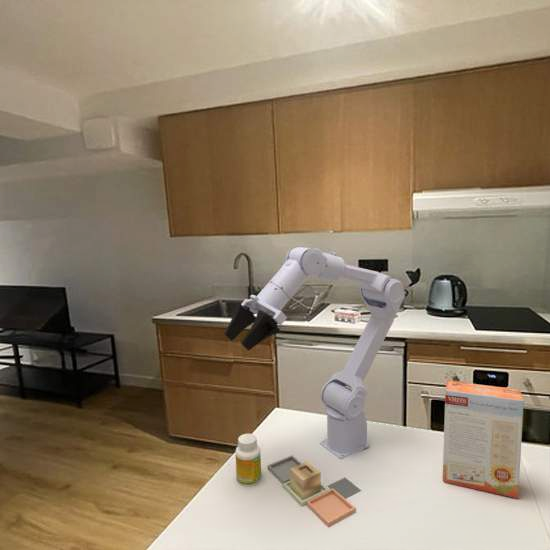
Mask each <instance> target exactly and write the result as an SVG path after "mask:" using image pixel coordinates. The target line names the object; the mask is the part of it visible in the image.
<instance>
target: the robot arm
mask: <svg viewBox="0 0 550 550" xmlns="http://www.w3.org/2000/svg"><path fill="white" fill-rule="evenodd" d="M309 277H314V278H318V279H322V280H327V281H332V282H337V281H339V280H341V279H342V278H343V279H346V280H350V281H353V282H357V285H356V287H357V288H358V289H359V294H360V296H361V299H362V300H363V302H364V304H365V306H366V308H367V310H368V311H369V312H370V317H369V320H368V321H367V323H366V324H365V325H366V326H365V327H364V329H363V331H362V333H361V335H360V336H359V338H358V341H356V344H355V346H354V348H353V351H352V353H350V356H349V357H348V360H347V362H346V364H345V365H344V368H343V370H340V371H338V372H335V373H333V374H331V378H330V379H329V380H328V381H327V382H326V383H325V384H324V385H323V387H322V389H321V391H320V400H321V403H322V404H324V405H325V410H326V413H327V414H326V415H327V416H326V424H327V425H326V428H327V432H326V434H327V435H326V436H327V437H326V439H324V440H321V441H320V442H319V444H320V445H321V446H322V447H323V448H325V449H326V450H327V451H329V452H330V453H332V454H333V455H334V456H335V457H337V458H338V459H339V460H342V459H344V458H347V457H349V456H351V455H353V454H356V453H359V452H360V451H363V450H364V449H367V448H370V444H369V443H368V438H367V437H368V422H367V417H366V414H365V413H364V411H363V410H364V407H365V401H366V398H367V396H368V389H367V388H366V385H365V383H364V380H365V378H366V376H367V374H368V372H369V370H370V368H371V367H372V365H373V363H374V360H375V358H376V357H377V355H378V354H379V350H380V349H381V346H382V345H383V342H384V340H385V339H386V337H387V335H388V333H389V331H390V329H391V327H392V325H393V324H394V321H395V318H396V315H397V314H398V311H399V309H400V307H401V305H402V304H403V301H404V300H405V297H406V294H405V290H404V286H403V283H402V281H401V280H399V279H397V278H393V277H391V276H390V275H387V274H384V273H381V272H379V271H375V270H371V269H367V268H363V267H358V266H353V265H351V264H346V263H345V260H344V259H343V257H341V256H338V253H336V252H331V251H330V252H329V253H327V252H323V251H322V250H321V249H320V248H315V247H314V248H313V247H305V246H304V247H301V246H297V247H294V248H292V249H289V250H288V251H287V253H286V256H285V261H284V263H283V264H282V266H281V268H279V270H278V271H277V272H276V273H275V274H274V276H273V277H272V278H271V279H270V280H269V281H268V282H267V284H266V285H265V286H264V287H263V288H262V290H260V292H259V293H258V294H257V295H255V294H251V295H250V296H249V299H248V298H245V299H244V301H243V302H242V303H239V302H237V303H236V304H235V306H234V311H233V315H232V317H231V320H230V322H229V324H228V325H227V327H226V329H225V331H224V336H225V337H226V338H227V339H228V340H230V342H231V341H233V340H235V339H236V338H237V337H238V336H239V335H240V334H241V333H242V332H243V331H244V330H245V329H247V328H248V327H249V326H251V325H252V326H251V327H250V329H249V330H248V332H247V333H246V334H245V335H244V337H243V339H242V340H241V342H240V345H241V346H243V347H244V348H245V349H246V350H247V351H251V350H252V349H253V348H255V347H256V346H257V345H259V344H260V343H261V342H263V341H264V340H266V339H267V338H269V337H271V336H273V335H276V334H279V333H280V331H281V328H279V326H282V324H283V323H284V322H285V321H286V320H287V319H288V317H287V316H286V315H285V314H284V312H283V308H285V306H286V305H287V304H288V302H289V301H290V300H291V299H292V298H293V297H294V295H295V294H296V292H298V290H299V289H300V288H301V287H302V285H303V284H304V283H305V282H306V280H307V279H308V278H309ZM254 314H256V316H255V315H254ZM278 325H279V326H278Z"/></svg>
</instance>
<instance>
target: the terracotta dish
mask: <svg viewBox="0 0 550 550" xmlns="http://www.w3.org/2000/svg"><path fill="white" fill-rule="evenodd" d="M305 506H307V508H308V509H309V510H311V512H313V514H315V516H317V518H318V519H319V520H320V521H322V523H323V524H325V526H327V527H328V528H329V527H332V526H333V525H335V524H336V523H339V522H340V521H342V520H344V519H346V518H347V517H349V516H351V515H353V514H355V513H356V512H357V509H356V507H355V506H354V505H353V504H352V503H351V502H350V501H348V500H347V498H346V499H345V498H344V497H343V496H341V495H340V494H339V493H338V492H337V491H336V490H334V489H333V488H332V489H330V488H329V490H328V491H326V492H324V493H322V494H320V495H318V496H316V497H314V498H312V499H310V500H308V501H306V505H305Z"/></svg>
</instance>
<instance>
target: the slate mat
mask: <svg viewBox="0 0 550 550" xmlns="http://www.w3.org/2000/svg"><path fill="white" fill-rule="evenodd" d="M326 488H328V489H329V490H330V489H332V488H333V489H334V490H336V491H337V492H338V493H339V494H340V495H341V496H343V497H344V498H345V499H346V500H347V499H348V498H351V497H352V496H354V495H356V494H357V493H360V492H361V491H362V490H361V489H360V488H359V487H358V486H357V485H355V484H354V483H353V482H351V480H349V479H348V478H346V477H343V478H341V479H339V480H336V481H335V482H333V483H331V484H328V485H327V487H326Z"/></svg>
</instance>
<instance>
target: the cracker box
mask: <svg viewBox="0 0 550 550" xmlns="http://www.w3.org/2000/svg"><path fill="white" fill-rule="evenodd" d="M445 383H446V384H445V398H444V424H443V453H442V454H443V455H442V481H443V482H444V483H448V484H452V485H456V486H460V487H465V488H470V489H475V490H479V491H483V492H488V493H491V494H497V495H501V496H506V497H509V498H514V499H518V498H519V490H520V473H521V472H520V471H521V456H522V455H521V453H522V437H523V420H524V406H525V405H524V404H525V403H524V402H525V400H524V398H523V396H522V395H523V394H522V393H521V390H520V389H519V388H518V389H517V388H512V387H511V388H510V387H501V386H495V385H486V384H480V383H479V384H477V383H471V382H464V381H463V382H462V381H457V380H456V381H455V380H449V379H448V380H446V382H445Z"/></svg>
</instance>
